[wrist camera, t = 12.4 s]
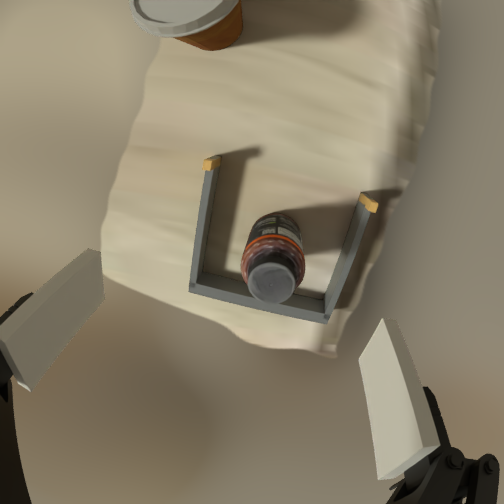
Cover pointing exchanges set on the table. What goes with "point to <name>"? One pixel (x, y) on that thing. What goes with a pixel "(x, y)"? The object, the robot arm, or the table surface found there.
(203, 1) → the disposable coffee cup
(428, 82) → the table surface
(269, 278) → the supplement bottle
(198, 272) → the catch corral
